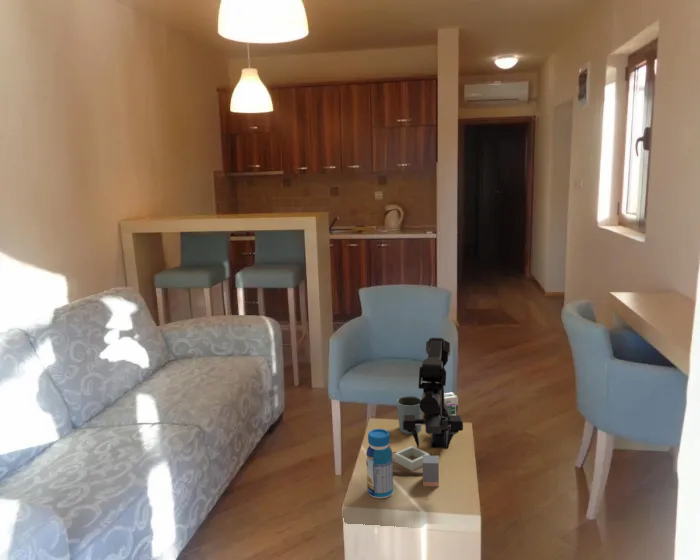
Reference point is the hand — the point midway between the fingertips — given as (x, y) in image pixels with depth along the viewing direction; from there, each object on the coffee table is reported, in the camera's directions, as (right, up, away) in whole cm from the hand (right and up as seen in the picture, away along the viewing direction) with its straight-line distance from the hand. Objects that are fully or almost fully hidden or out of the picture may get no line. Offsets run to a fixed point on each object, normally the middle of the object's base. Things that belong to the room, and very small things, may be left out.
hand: (432, 447), depth 181 cm
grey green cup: (-3, -5, +41) cm, 42 cm away
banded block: (0, -12, +2) cm, 12 cm away
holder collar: (-5, -10, +14) cm, 18 cm away
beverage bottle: (-17, -14, -3) cm, 22 cm away
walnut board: (-5, -10, +14) cm, 18 cm away
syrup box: (+12, -5, +40) cm, 42 cm away
